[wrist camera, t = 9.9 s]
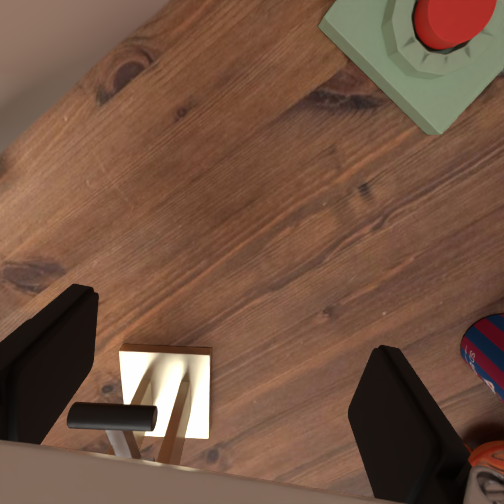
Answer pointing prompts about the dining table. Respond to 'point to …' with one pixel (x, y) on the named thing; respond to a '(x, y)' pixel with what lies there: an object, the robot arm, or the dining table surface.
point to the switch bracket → (169, 392)
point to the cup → (486, 352)
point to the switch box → (416, 58)
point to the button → (451, 21)
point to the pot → (488, 455)
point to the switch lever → (115, 423)
